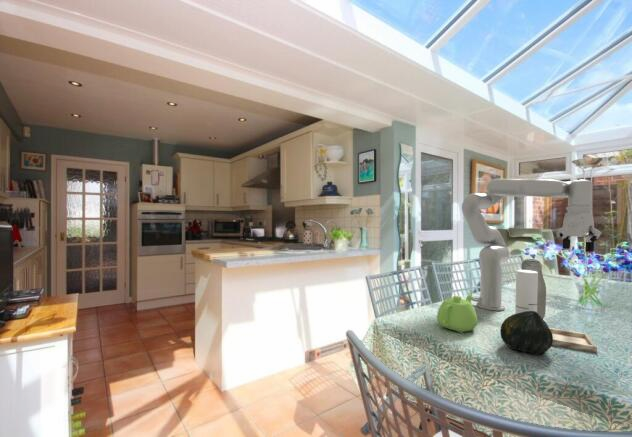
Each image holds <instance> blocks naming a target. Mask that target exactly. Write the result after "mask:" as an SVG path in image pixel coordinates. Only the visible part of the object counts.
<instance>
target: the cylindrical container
mask: <svg viewBox="0 0 632 437" xmlns="http://www.w3.org/2000/svg"><path fill="white" fill-rule="evenodd" d="M515 270H516V271H515V274H516V275H515V310H514V311H515V312H514V314H517V313H521V312H525V311H535V312H537V290H538V272H536V271H531V270H521V269H515Z"/></svg>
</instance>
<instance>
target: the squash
mask: <svg viewBox="0 0 632 437" xmlns="http://www.w3.org/2000/svg"><path fill="white" fill-rule="evenodd" d="M549 328H550V327H549V325H548V323H547V322H546V321H545V320H544V318H543V319H542V317H541V316H540V315H539V314H538V313H537V312H535V311H525V312H521V313H517V314H515V313H514V314H512V315H510V316H508V317H506V318H505V319H504V321H503V322H502V323H501V326H500V330H499V332H500V339H502V342H503V343H504V344H505V345H506V346H509V348H511V349H513V350H517V351H518V350H520V351H521V352H527V353H530V354H531V353H532V354H534V355H538V354H539V355H544V354H545V353H547V352H548V351H549V350H550V348H551V347H552V346H553V345H552V343H553V336H552V332H551V331H550V329H549Z"/></svg>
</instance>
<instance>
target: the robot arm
mask: <svg viewBox="0 0 632 437" xmlns="http://www.w3.org/2000/svg"><path fill="white" fill-rule="evenodd" d="M485 189H486V190H487V191H486V192H484V193H480V192H473V193H470V194H468V195H466V197H465V198H464V199H463V201H462V204H461V211H462V215H463V216H464V219H465V221H466V223H467V225H468V228H469V230H470V233H471V235H472V237H473V239H474V241H475V242H476V244H479V245H485V246H484V247H482V248H481V250H480V251H479V254H478V259H479V265H480V285H479V286H480V287H479V288H480V290H479V291H480V293H479V294H480V295H479V296H477V297H475V296H472V297H471V301H472V302H476V306H477V307H478V308H481V309H484V310H488V311H489V310H490V311H498V312H499V311H504V310H505V308H506V307H505V305H503V304H502V295H503V294H502V292H503V290H502V289H503V287H502V285H503V271H502V266H501V264H503V263H505V262H507V261H508V260H509V259H510V251H509V247H508V246H507V244H506V241H505V240H504V238H503V236H502V234H501V232H500V231H499V230H498V229H497V228H496V227H494V226H491V225H488V223H487V221H486V219H485V217H484V215H483V213H482V212H480V210H488V209H490V208H492V207H493V206H495V205H496V204H498V203H499V202H501V201H502V200H503V199H504V198H507V197H517V198H524V197H538V198H539V197H541V198H554V199H567V198H568V199H567V207H566V208H565V210H566V211H567V212H565V214H564V217H563V222H562V226H561V227H560V228H558V229H557V232H558V235H559V237H560V239H561V240H562V249H564V250H569V249H570V248H571V239H570V238H572V237H577V238H578V237H579V238H583V237H584V238H585V240H586V242H585V252H587V253H593V252H594V249H595V243H596V242H597V241H598V239H600V237H601V235H602V234H603V233H602V231H600V230H599V229H597V228H595V221H594V214H593V213H592V201H593V200H592V198H593V181H591V180H589V179H579V180H578V179H577V180H571V181H562V180H558V179H527V178H494V179H493V178H492V179H491V180H489V181H488V182H487V183H486V188H485Z"/></svg>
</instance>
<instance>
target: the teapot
mask: <svg viewBox="0 0 632 437" xmlns="http://www.w3.org/2000/svg"><path fill="white" fill-rule="evenodd" d="M471 297H473V293H469V294H467V296H466V298H465V299H462V297H461V296H459V295H455V296H452V297H448V298H444V299H443V301H442V303H441V304H440V306H439V307H438V310H437V313H436V314H437V315H436V320H437V322H438V324H439V325H440V326H441V327H442V328H444V327H445V328H444V329H449V330H452V331H456V332H457V331H458V332H457V333H459V332H463V333H464V332H469V331H473V330H474V329H475V328H476V326H477V325H478V323H479V322H478V317H477V316H478V314H477V313H476V309H475V308H474V306H473V304H472V300H471Z"/></svg>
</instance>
